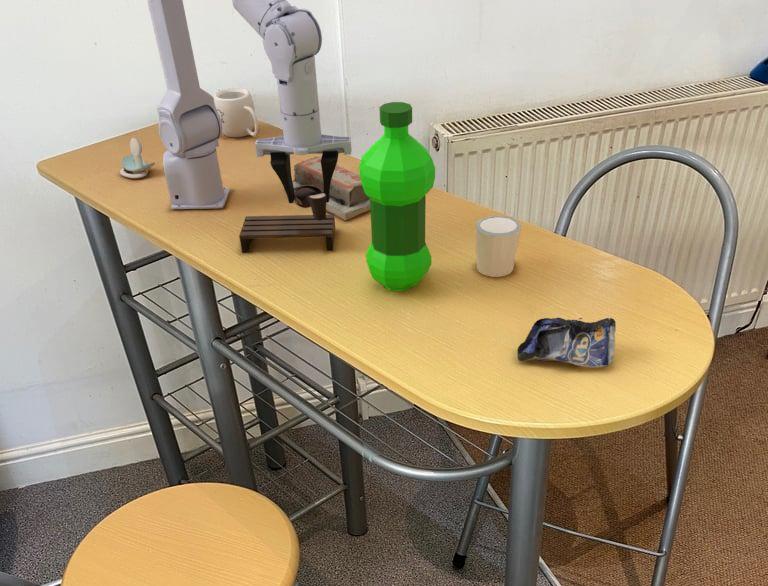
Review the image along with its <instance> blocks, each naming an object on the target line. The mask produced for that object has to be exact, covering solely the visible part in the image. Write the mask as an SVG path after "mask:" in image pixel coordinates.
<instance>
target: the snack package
mask: <svg viewBox="0 0 768 586" xmlns="http://www.w3.org/2000/svg"><path fill="white" fill-rule="evenodd" d="M616 322H617V321H616V320H615V319H614V318H612V317H606V318H603V319H599V320H596V321H592V322H585V321H583V317H579V318H578V319H565V318H563V317H554V318H553V317H552V318H550V317H544V318H541V319H537V320H536V321H535V322H534V323H533V325H532V326H531V329H530V330H529V332H528V334H527V335H526V337H525V338H526V339H525V340H524V341H523V342H521V343H520V344H519V345H518V347H517V351H516V352H517V353H516V354H517V360H518V361H520V362H525V361H544V362H545V361H546V362H547V361H550V362H551V361H557V362H562V363H569V364H572V365H575V366H578V367H579V366H580V367H585V368H604V367H608V366H610V365H611V364H612V363H613V361H614V353H615V351H616V337H615V335H616V332H617V331H616V329H617V325H616V324H617V323H616Z"/></svg>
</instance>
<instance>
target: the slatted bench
mask: <svg viewBox="0 0 768 586" xmlns="http://www.w3.org/2000/svg"><path fill="white" fill-rule="evenodd" d="M336 232H337V231H336V220H335V214H326V219H324V220H321V221H319V220H316V219H315V218H314V216H313V214H295V215H291V214H290V215H245V218H244V221H243V224H242V226H241V229H240V232H239V235H238V236H239V242H240V248H241V253H242V254H243V253H245V254H247V253H249V251H250V247H251V244H252V241H253V239H254V240H255V239H297V238H298V239H301V238H303V239H305V238H325V246H326V252H333V251H334V246H335V239H336Z"/></svg>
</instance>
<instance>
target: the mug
mask: <svg viewBox="0 0 768 586" xmlns="http://www.w3.org/2000/svg"><path fill="white" fill-rule="evenodd" d="M212 96H213V98H214V103H215V107H216V109H217V112H218V113H219V115H220V118H221V121H222V128H223V130H222V135H224V136H226V137H227V138H228V137H229V138H235V139H236V138H243V137H246V136H248V135H250V136H252V137H256V136H258V134H259V130H260V129H259V121H258V117H257V115H256V112H255V104H254V100H253V96H252V94H251V92H250V90H247V89H245V88H237V87H233V88H231V87H230V88H225V89H220V90H218V91H217V92H215V93H214V94H213V95H212ZM253 130H254V131H253Z"/></svg>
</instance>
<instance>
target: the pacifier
mask: <svg viewBox="0 0 768 586" xmlns="http://www.w3.org/2000/svg"><path fill="white" fill-rule="evenodd" d="M129 150H130V153H131V154H127V155H125V156H124V157H123V158H122V160H121V164H122V168H121V169H120V170H119V173H120V175H121V176H122V177H125V178H127V179H142V178H145V176H147V174H148V173H149V171H148V169H150V168H152V167H153V166H155V165H156V162H154V161H153V162H151V163H146V161H145V160H144V159H143V157H142V153H143V145H142V143H141V141H140V140H139V139H138V138H136V137H132V138H131V139H130V141H129ZM128 171H129V172H132V173H128Z"/></svg>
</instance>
